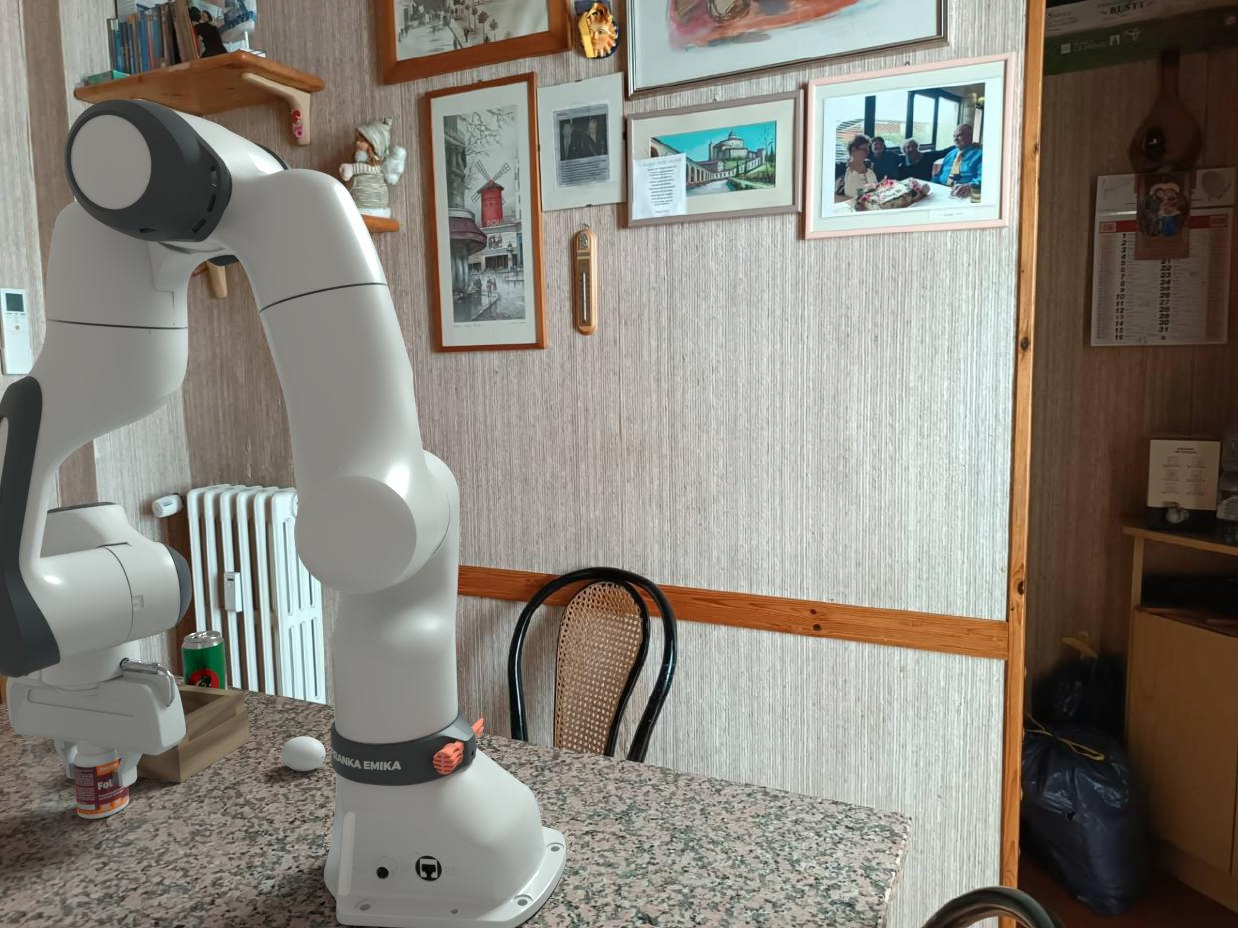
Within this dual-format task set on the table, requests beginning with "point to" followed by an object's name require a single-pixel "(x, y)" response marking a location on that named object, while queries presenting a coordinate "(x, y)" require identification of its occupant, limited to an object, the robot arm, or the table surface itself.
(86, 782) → the pill bottle
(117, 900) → the table surface
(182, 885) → the table surface
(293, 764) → the egg
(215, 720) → the wooden open box
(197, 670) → the soda can
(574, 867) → the table surface
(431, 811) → the robot arm
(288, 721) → the table surface
